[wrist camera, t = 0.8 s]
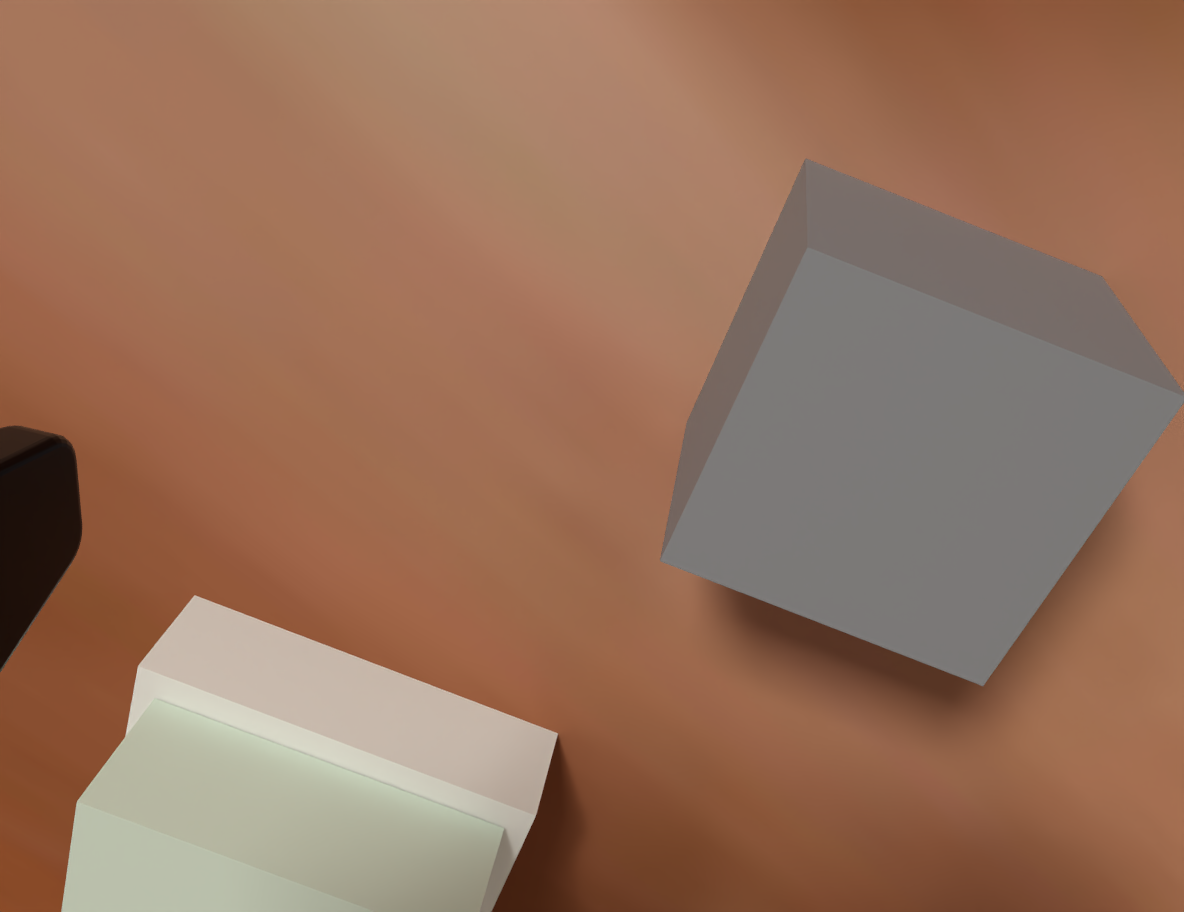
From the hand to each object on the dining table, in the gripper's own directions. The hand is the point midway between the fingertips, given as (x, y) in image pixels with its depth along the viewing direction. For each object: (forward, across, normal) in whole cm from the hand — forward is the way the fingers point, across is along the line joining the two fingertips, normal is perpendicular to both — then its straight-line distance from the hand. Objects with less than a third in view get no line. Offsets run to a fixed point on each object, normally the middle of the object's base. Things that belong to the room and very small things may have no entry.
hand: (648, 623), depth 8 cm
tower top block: (+10, +7, +17) cm, 21 cm away
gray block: (+13, -3, +3) cm, 14 cm away
